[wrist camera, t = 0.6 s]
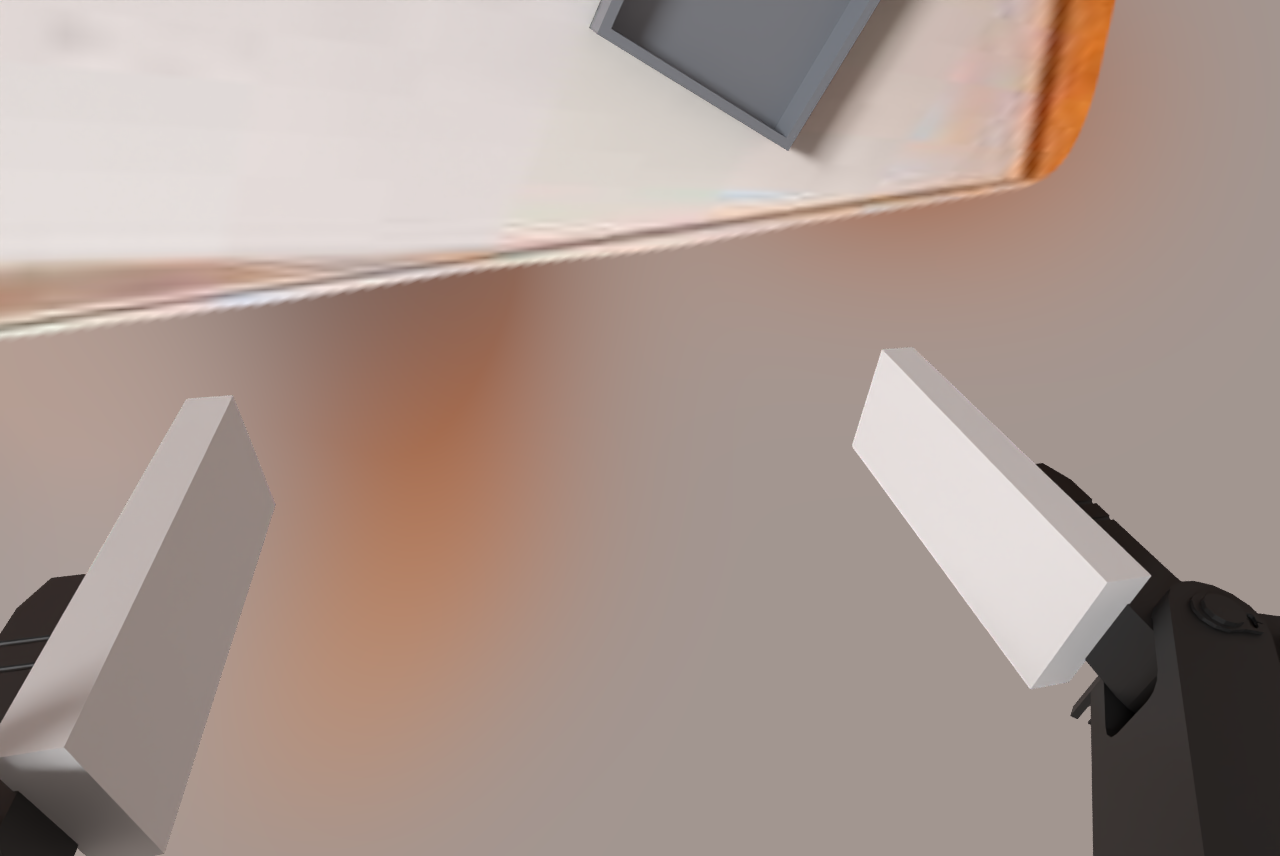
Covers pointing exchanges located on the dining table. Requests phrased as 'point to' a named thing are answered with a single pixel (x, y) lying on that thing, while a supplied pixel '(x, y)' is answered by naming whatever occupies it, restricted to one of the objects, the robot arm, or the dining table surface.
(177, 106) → the dining table surface
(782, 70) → the tray
